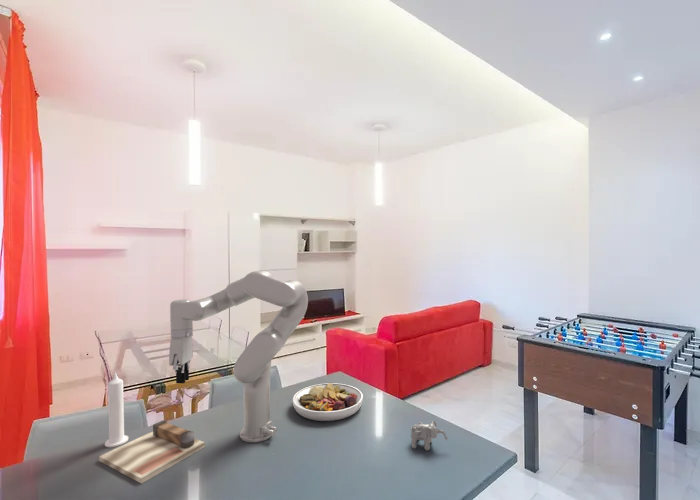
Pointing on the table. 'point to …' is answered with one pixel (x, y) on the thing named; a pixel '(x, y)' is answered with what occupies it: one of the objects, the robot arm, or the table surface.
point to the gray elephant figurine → (425, 434)
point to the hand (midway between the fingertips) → (182, 381)
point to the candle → (116, 413)
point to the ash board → (147, 456)
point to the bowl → (327, 401)
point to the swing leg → (173, 434)
